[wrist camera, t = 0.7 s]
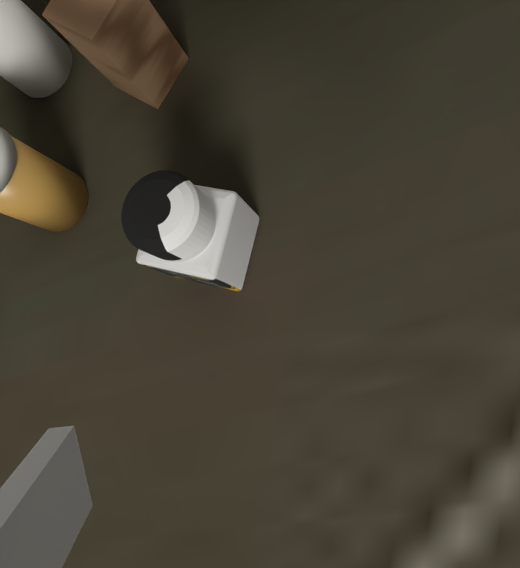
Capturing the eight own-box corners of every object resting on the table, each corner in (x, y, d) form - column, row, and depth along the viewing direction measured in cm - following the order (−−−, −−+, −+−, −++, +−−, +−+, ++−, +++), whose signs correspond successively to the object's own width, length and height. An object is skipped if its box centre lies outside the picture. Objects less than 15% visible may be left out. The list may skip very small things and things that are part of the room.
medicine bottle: (172, 276, 45) (97, 248, 33) (191, 204, 45) (123, 152, 34) (242, 292, 43) (187, 268, 31) (261, 216, 43) (214, 166, 32)
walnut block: (145, 37, 50) (79, -48, 39) (189, 58, 48) (131, -25, 38) (115, 86, 50) (41, 14, 39) (157, 109, 48) (92, 40, 38)
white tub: (50, 23, 54) (-49, -73, 42) (86, 62, 51) (-8, -28, 39) (5, 72, 54) (-105, -8, 42) (38, 113, 52) (-68, 40, 40)
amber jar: (66, 156, 50) (-30, 97, 39) (102, 199, 48) (11, 150, 37) (21, 202, 51) (-86, 157, 40) (55, 247, 49) (-48, 214, 38)
